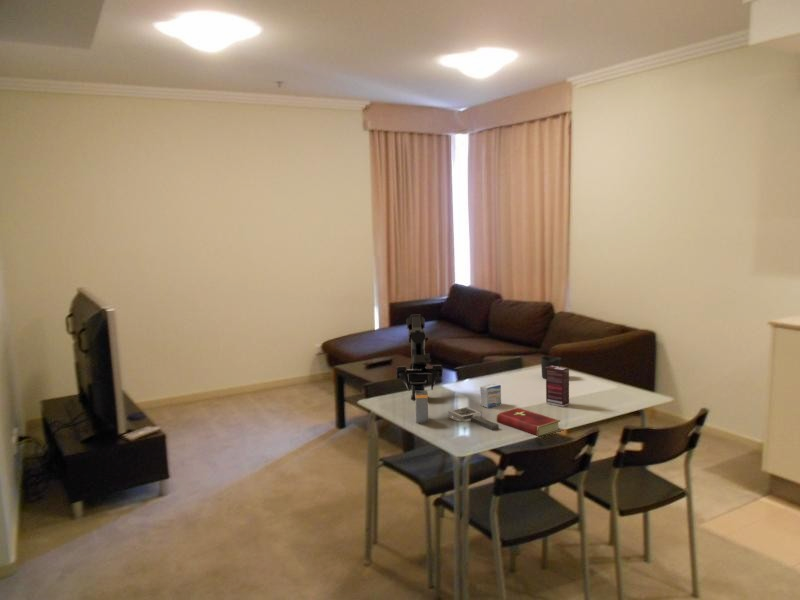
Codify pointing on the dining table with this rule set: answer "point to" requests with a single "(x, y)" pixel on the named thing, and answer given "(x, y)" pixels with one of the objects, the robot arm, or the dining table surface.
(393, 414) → the dining table surface
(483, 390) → the medicine box
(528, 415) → the hardcover book
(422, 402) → the grey orange-banded block
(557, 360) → the pen holder
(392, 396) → the dining table surface
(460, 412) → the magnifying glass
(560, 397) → the supplement box
